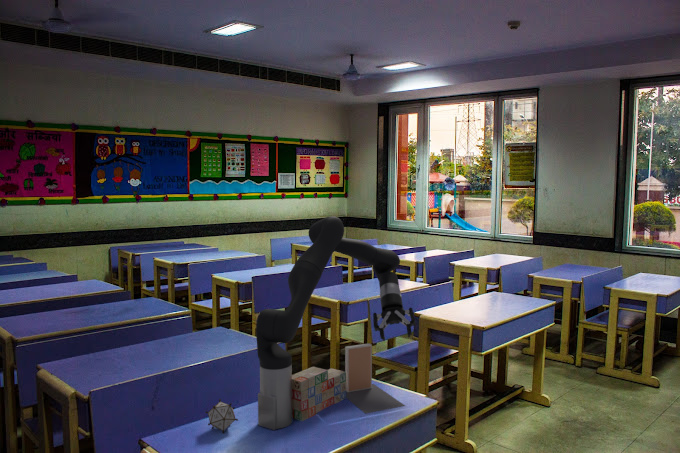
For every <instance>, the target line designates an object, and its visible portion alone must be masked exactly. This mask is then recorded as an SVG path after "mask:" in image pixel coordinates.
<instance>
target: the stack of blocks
mask: <svg viewBox="0 0 680 453" xmlns="http://www.w3.org/2000/svg"><path fill="white" fill-rule="evenodd" d="M346 399H347V398H346V372H345V371H343V370H339V369H335V368H329V369H324V368H321V367H316V366H311V367H309V368H306V369H304V370H301V371H299V372H296V373H293V374H292V420H293V419H294V420H297V421H299V422H304V421H306V420H307V419H309V418H312V417H314V416H316V415H318V413H319V412H322V411H323V410H326V409H327V408H328V407H330V406H333V405H335V404H338V403H340V402H342V401H343V400H346Z"/></svg>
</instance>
